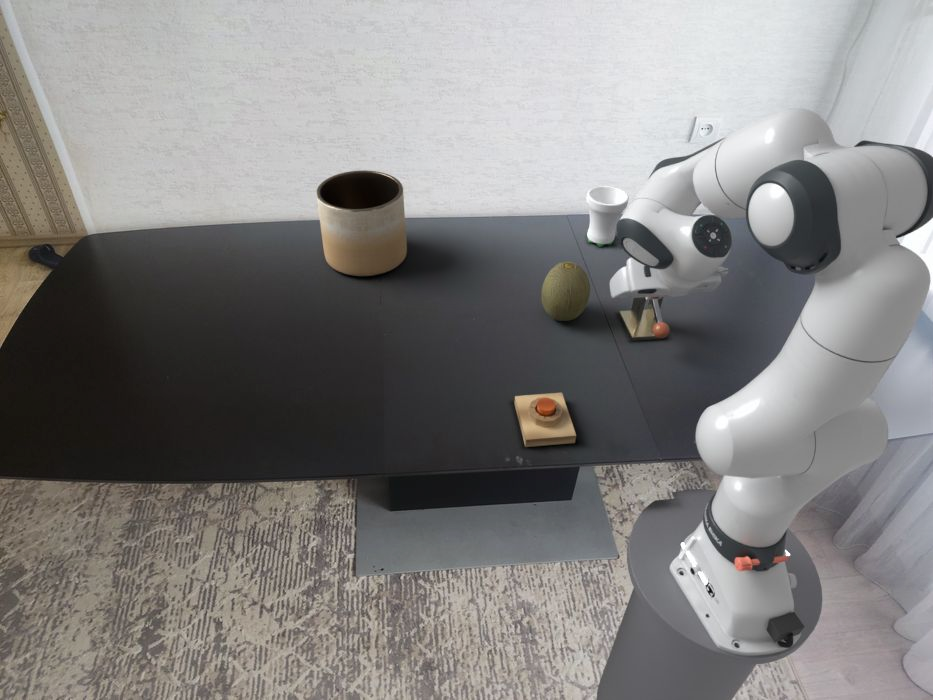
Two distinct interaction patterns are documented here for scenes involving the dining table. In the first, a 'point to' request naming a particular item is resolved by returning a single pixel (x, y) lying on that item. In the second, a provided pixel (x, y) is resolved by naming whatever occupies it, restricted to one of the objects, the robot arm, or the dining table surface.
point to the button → (545, 407)
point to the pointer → (659, 322)
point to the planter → (362, 222)
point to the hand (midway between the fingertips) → (652, 295)
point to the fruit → (565, 291)
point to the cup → (604, 213)
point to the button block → (544, 421)
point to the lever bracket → (640, 320)
